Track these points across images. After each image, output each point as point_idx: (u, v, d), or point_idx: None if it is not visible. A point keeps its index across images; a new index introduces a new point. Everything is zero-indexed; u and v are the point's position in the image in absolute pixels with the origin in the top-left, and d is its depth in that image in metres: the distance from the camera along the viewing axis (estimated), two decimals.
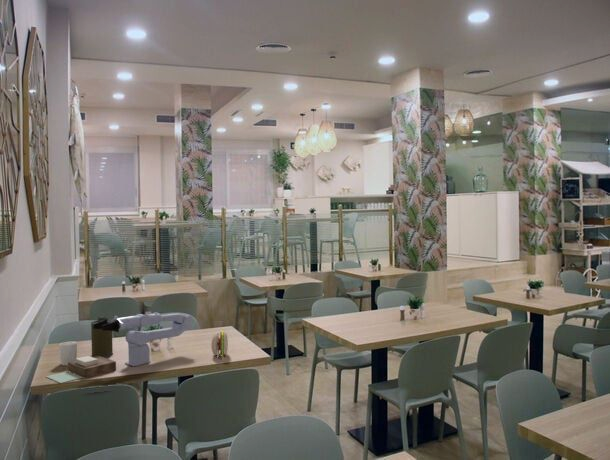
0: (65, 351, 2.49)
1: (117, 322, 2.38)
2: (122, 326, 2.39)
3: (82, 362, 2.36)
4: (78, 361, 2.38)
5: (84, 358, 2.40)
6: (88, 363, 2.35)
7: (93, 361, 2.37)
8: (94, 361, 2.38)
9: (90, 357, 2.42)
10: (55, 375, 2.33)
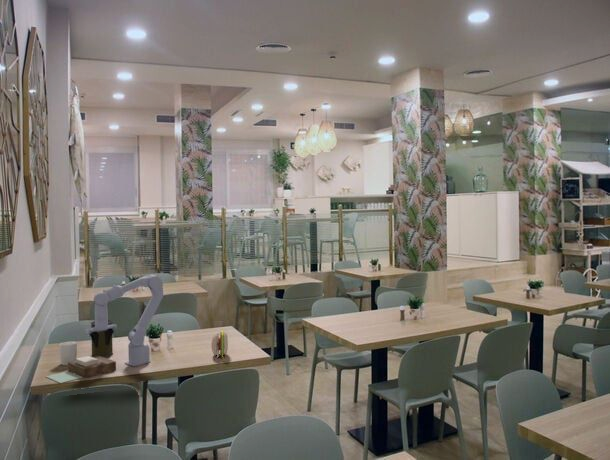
0: (65, 351, 2.49)
1: (89, 334, 2.42)
2: (86, 332, 2.39)
3: (82, 362, 2.36)
4: (78, 361, 2.38)
5: (84, 358, 2.40)
6: (88, 363, 2.35)
7: (93, 361, 2.37)
8: (94, 361, 2.38)
9: (90, 357, 2.42)
10: (55, 375, 2.33)
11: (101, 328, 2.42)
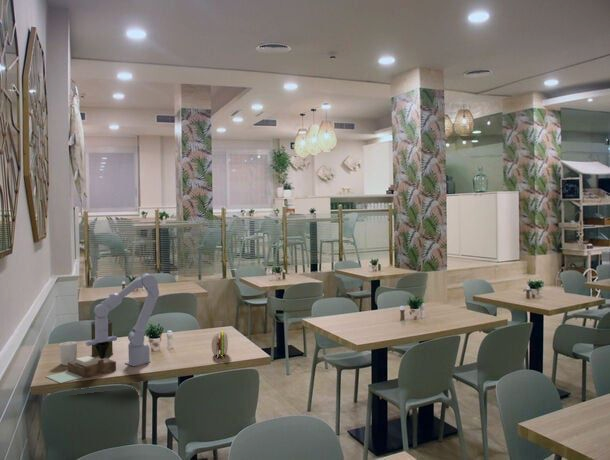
0: (65, 351, 2.49)
1: (94, 345, 2.44)
2: (87, 344, 2.39)
3: (82, 362, 2.36)
4: (78, 361, 2.38)
5: (84, 358, 2.40)
6: (88, 363, 2.35)
7: (93, 361, 2.37)
8: (94, 361, 2.38)
9: (90, 357, 2.42)
10: (55, 375, 2.33)
11: (101, 340, 2.42)
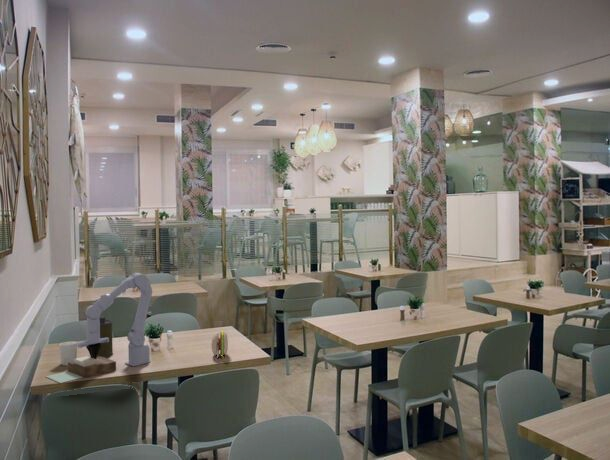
0: (65, 351, 2.49)
1: (86, 346, 2.41)
2: (78, 346, 2.36)
3: (81, 362, 2.35)
4: (77, 361, 2.38)
5: (83, 358, 2.40)
6: (87, 363, 2.35)
7: (92, 361, 2.37)
8: (93, 361, 2.37)
9: (89, 357, 2.41)
10: (55, 375, 2.33)
11: (93, 342, 2.39)
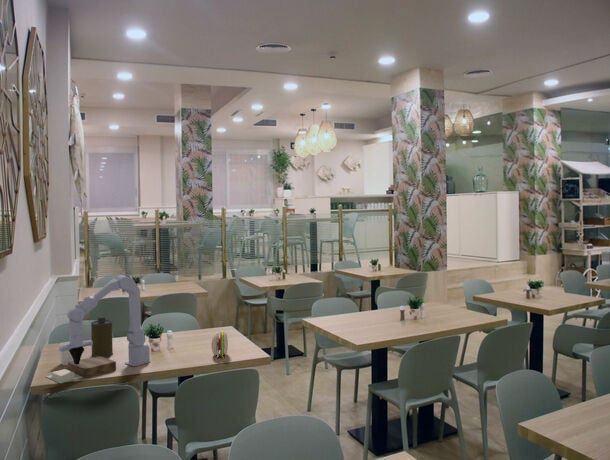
0: (65, 351, 2.49)
1: (69, 350, 2.35)
2: (60, 349, 2.30)
3: None
4: None
5: None
6: (71, 376, 2.29)
7: (65, 378, 2.28)
8: (64, 378, 2.27)
9: None
10: None
11: (76, 345, 2.33)
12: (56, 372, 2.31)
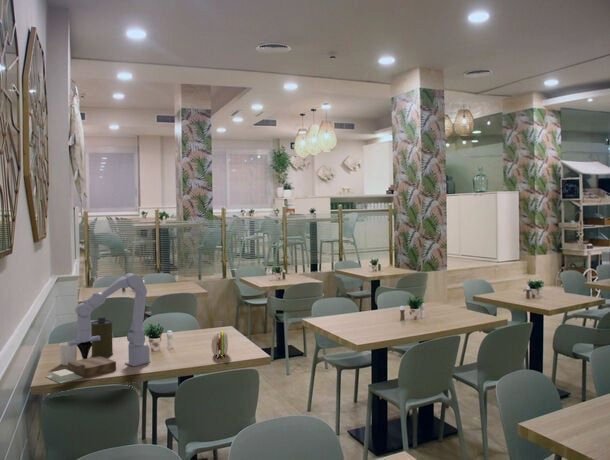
0: (65, 351, 2.49)
1: (77, 345, 2.38)
2: (69, 344, 2.33)
3: None
4: None
5: None
6: (71, 376, 2.29)
7: (65, 378, 2.28)
8: (64, 378, 2.27)
9: None
10: None
11: (84, 340, 2.35)
12: (56, 372, 2.31)
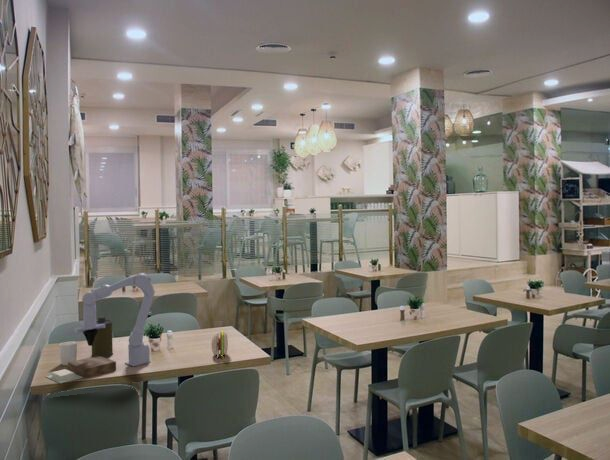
0: (65, 351, 2.49)
1: (83, 332, 2.46)
2: (75, 331, 2.41)
3: None
4: None
5: None
6: (71, 376, 2.29)
7: (65, 378, 2.28)
8: (64, 378, 2.27)
9: None
10: None
11: (89, 327, 2.44)
12: (56, 372, 2.31)
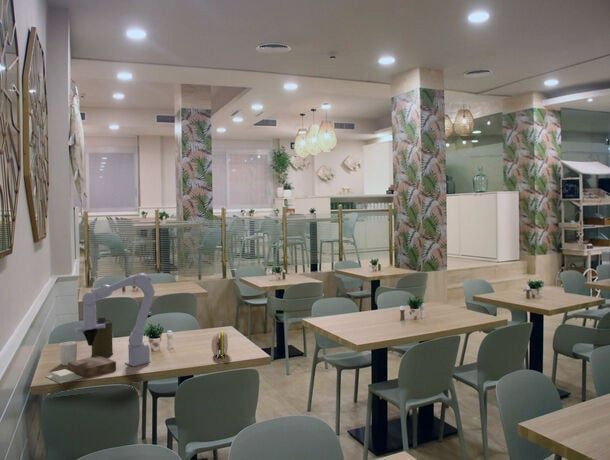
0: (65, 351, 2.49)
1: (83, 332, 2.46)
2: (75, 331, 2.41)
3: None
4: None
5: None
6: (71, 376, 2.29)
7: (65, 378, 2.28)
8: (64, 378, 2.27)
9: None
10: None
11: (89, 327, 2.44)
12: (56, 372, 2.31)
